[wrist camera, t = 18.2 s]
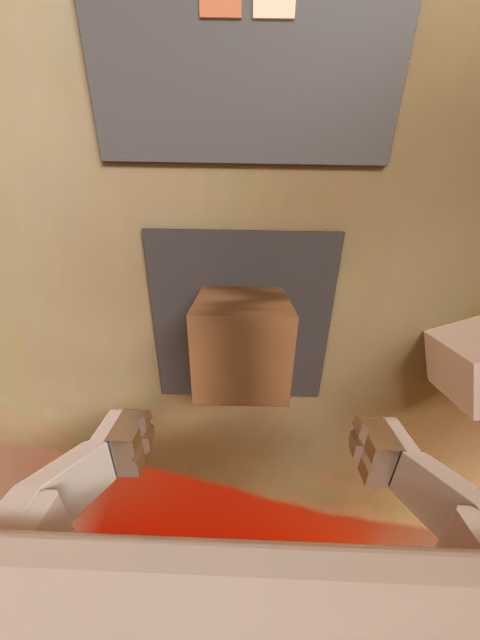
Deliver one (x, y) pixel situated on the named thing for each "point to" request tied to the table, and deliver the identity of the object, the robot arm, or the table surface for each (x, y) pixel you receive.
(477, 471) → the table surface
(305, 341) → the mat
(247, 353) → the walnut block
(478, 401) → the beige block
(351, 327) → the table surface
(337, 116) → the tile
